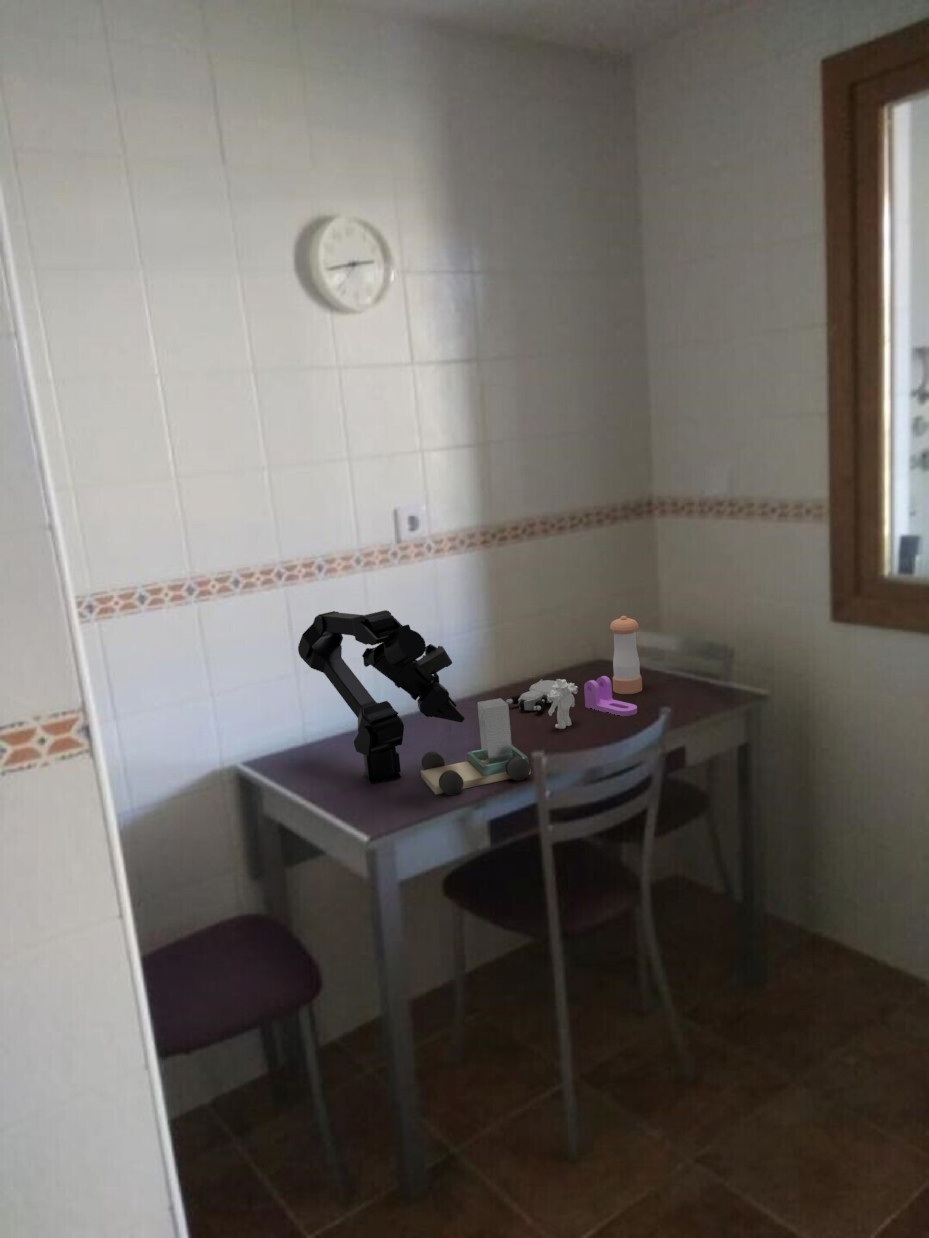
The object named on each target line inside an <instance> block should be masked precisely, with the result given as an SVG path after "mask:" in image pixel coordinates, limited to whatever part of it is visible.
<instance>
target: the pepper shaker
mask: <svg viewBox="0 0 929 1238" xmlns="http://www.w3.org/2000/svg"><path fill="white" fill-rule="evenodd" d="M609 628H610V631H611V633H613V646H614V650H613V660H612V668H613V676H612V692H613V693H615V694H616V693H617V694H618V695H619V694H620V695H632V694H633V695H634V694H638V693H639V692H642V691H643V678H642V675H641V673H640V671H641V666H640V665H641V663H640V659H639V654H638V653H639V652H638V650H637V634H636V632H638V630H639V628H640V626H639V623H638V622H637V620H635V619H633V618H630V617H627V615H622V616H620V618H617V619H615V620H612V621H611V623H610V626H609Z"/></svg>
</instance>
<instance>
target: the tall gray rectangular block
mask: <svg viewBox="0 0 929 1238" xmlns="http://www.w3.org/2000/svg"><path fill="white" fill-rule="evenodd" d="M477 711H478V712H477V713H478V722H479V723H478V724H479V734H480V735H479V736H480V745H481V749H482V760H483V763H484V764H485V765H488V764H493V763H498V762H502V761H507V760H510V759H511V758H512V757H513V756H512V745H513V743H512V731H511V721H510V708H509V704H507V703H506V700H504V699H502V698H501V697H500V698H494V699H489V700H487V699H486V700H482V701H478V702H477Z"/></svg>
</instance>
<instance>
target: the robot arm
mask: <svg viewBox="0 0 929 1238" xmlns="http://www.w3.org/2000/svg"><path fill="white" fill-rule="evenodd" d="M343 635H346V636H352V637H354V640H355V641H357V642H358V643H362V644H363V645H365V646H366V645H371V646H375V647H372V648H371V647H369V648H368V647H367V648H366V649H365V650H364V651H363V653H362V655H361V656H362V660H363V666H364V667H365V668H368V667H369V666H372V667H373V668H374V669H375V670H377V671H378V672H379V673H380V674H382V675H383V676H385V677H386V678H387V679H388V680H390V681H391V682H392V683H394V686H396V687H397V688H398V689H402V690H404V692H406V693H407V694H408V695H410V697H411V699H413V701H416V703H417V708H418V710H419V713H421V714H423V715H424V716H425V717H427V718H437V719H443V720H448V721H453V722H456V723H463V722H464V721H465V717H464V715H462V713H461V712H460V711H459V710H458V709H457V704H456V702H455V701H454V700H453V698H451V696H450V692H449V691H448V689H447V688H446V687H445V686H443V684H441V683H440V676H439V675H438V672H440V671H441V670H443V669H445V668H448V667H449V666H451V665H452V664H453V661H452V659H451V657H450V656H449V654H448V653H447V651H446V649H445V648H444V647H443V646H442V645H438V646H435V645H433V644H432V643H430V644H428V645H426V641H425V638H424V637H423V636H422V635H421V633H419V632H417V631H415V630H413V629H411V626H410V624H404V625H403V624H401V622H400V621H399V620H398V619H396V617H395V616H394V615H392V613H391V611H389V610H387V609H386V610H385V609H384V610H381V611H377V612H376V611H375V612H371V613H368V614H367V613H366V614H357V613H345V612H339V611H335V610H333V611H329V612H325V613H319V614H318V615H316V616H315V617H314V620H313V622H312V624H311V625H310V626H309V627H307V629H306V630H305V631H304V632H303V633H302V635H301V638H300V639H299V643H298V647H297V651H298V654H299V657H300V658H301V660H303V662H304V663H305V664H306V665H308V666H309V668H311V669H313V670H314V671H315V670H316V671H318V672H320V673H323V674H324V675H325V676H326V678H327V679H328V681H330V683H331V685H332V686H333V687H334V689H336V691H337V693H338V694H339V695H340V696H341V698H342V699H343V701H344V702H345V704H347V706H348V707H349V708H350V710H351V711H352V713H353V714H354V715H355V716H356V718H357V732H358V733H357V735H356V736H355V739H354V740H353V745H354V748H355V749H354V750H355V752H357V753H360V754H361V755H363V762H364V768H365V769H364V770H365V771H364V772H363V775H364V776H365V779H367V781H368V782H369V784H371V785H373V784H377V783H381V782H387V781H393V780H397V779H401V778H402V775H401V774H400V773H401V771H402V770H401V761H400V760H401V759H400V753H399V752H398V751H397V749H396V747H397V746H402V745H403V741H404V740H403V738H404V731H405V725H404V722H403V720H402V718H401V717H400V716H399V711H396V710H395V709H394V707H393V706H392V703H390V702H389V701H388V700H384V701H381V702H377V701H376V700H375V699H374V698H373V696H372V695H371V694H370V693H369V691H368V690H367V689H366V687H365V686H364V685H363V683H362V682H361V681H360V679H359V678H358V677H357V675H355V672H353V671H352V669H351V668H350V666H349V665H348V664H347V663H346V662H345V660H344V659H343V657H342V651H343V650H342V649H343V648H342V647H343V646H342V642H343V640H344V636H343ZM376 645H377V646H376ZM419 658H420V659H419Z"/></svg>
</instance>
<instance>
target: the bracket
mask: <svg viewBox="0 0 929 1238" xmlns="http://www.w3.org/2000/svg"><path fill="white" fill-rule="evenodd" d="M583 689H584V690H583V692H584V693H583V694H584V704H585V708H587V709H590V708H592V709H591V710H594V709H595V710H594V711H598V710H599V711H598V712H603V713H606V712H609V713H608V714H610V713H611V714H610V715H614V714H615V716H617V715H620V716H619V717H630V716H635V715H636V714H637V713H638V706H637V705H636V704H633V703H630V702H624V701H621V700H617V699H614V698H613V684H612V681H611V679H610V678H609V677H608V676H607V675H602V676H600V677H598V678H597V679H596V680H594V679H590V680H588V681H586V682H585V683H584V684H583Z"/></svg>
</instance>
